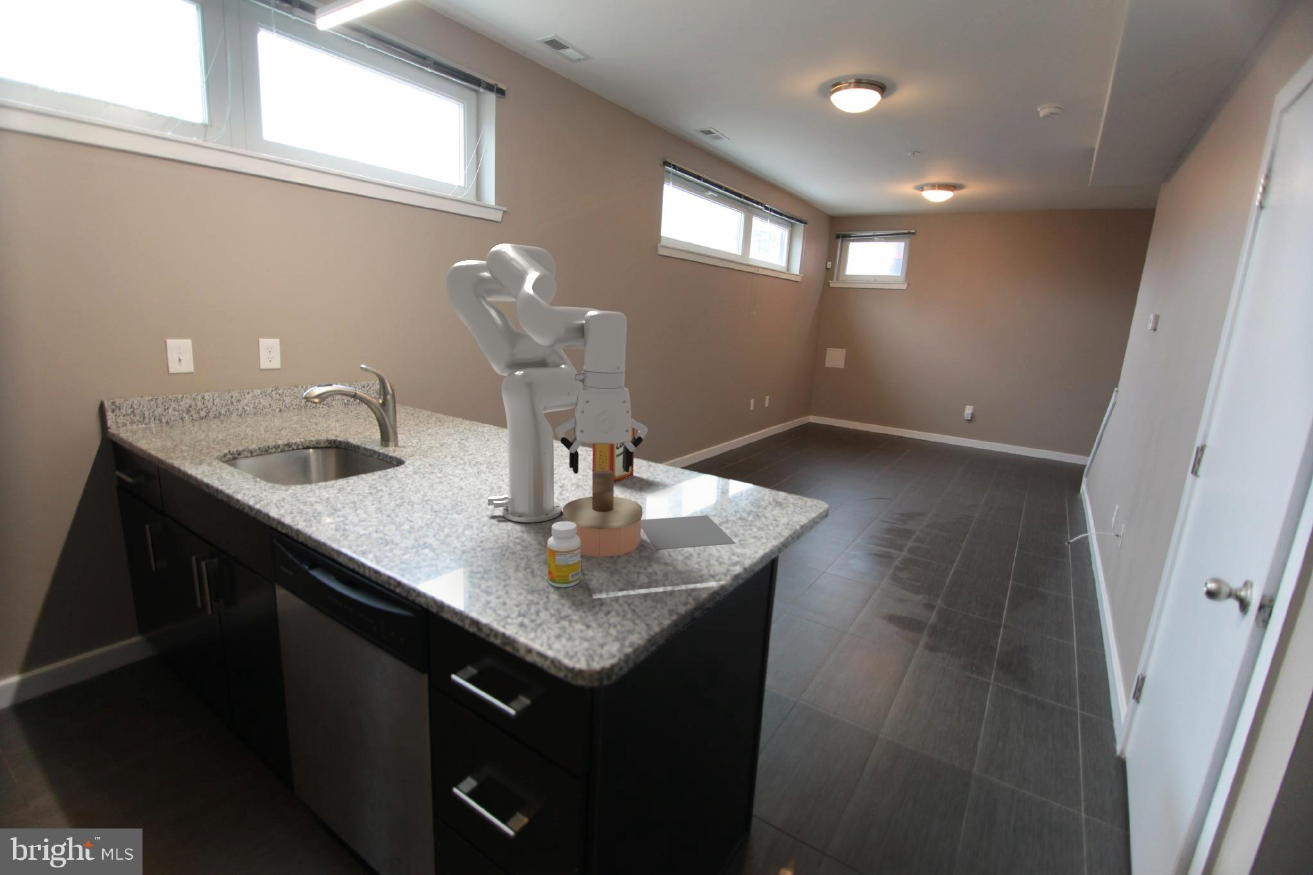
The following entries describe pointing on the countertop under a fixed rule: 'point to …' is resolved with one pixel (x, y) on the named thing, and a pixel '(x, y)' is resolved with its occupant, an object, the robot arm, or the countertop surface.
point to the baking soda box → (611, 459)
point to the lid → (602, 506)
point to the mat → (684, 532)
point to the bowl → (609, 540)
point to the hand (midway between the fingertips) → (600, 470)
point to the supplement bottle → (564, 555)
